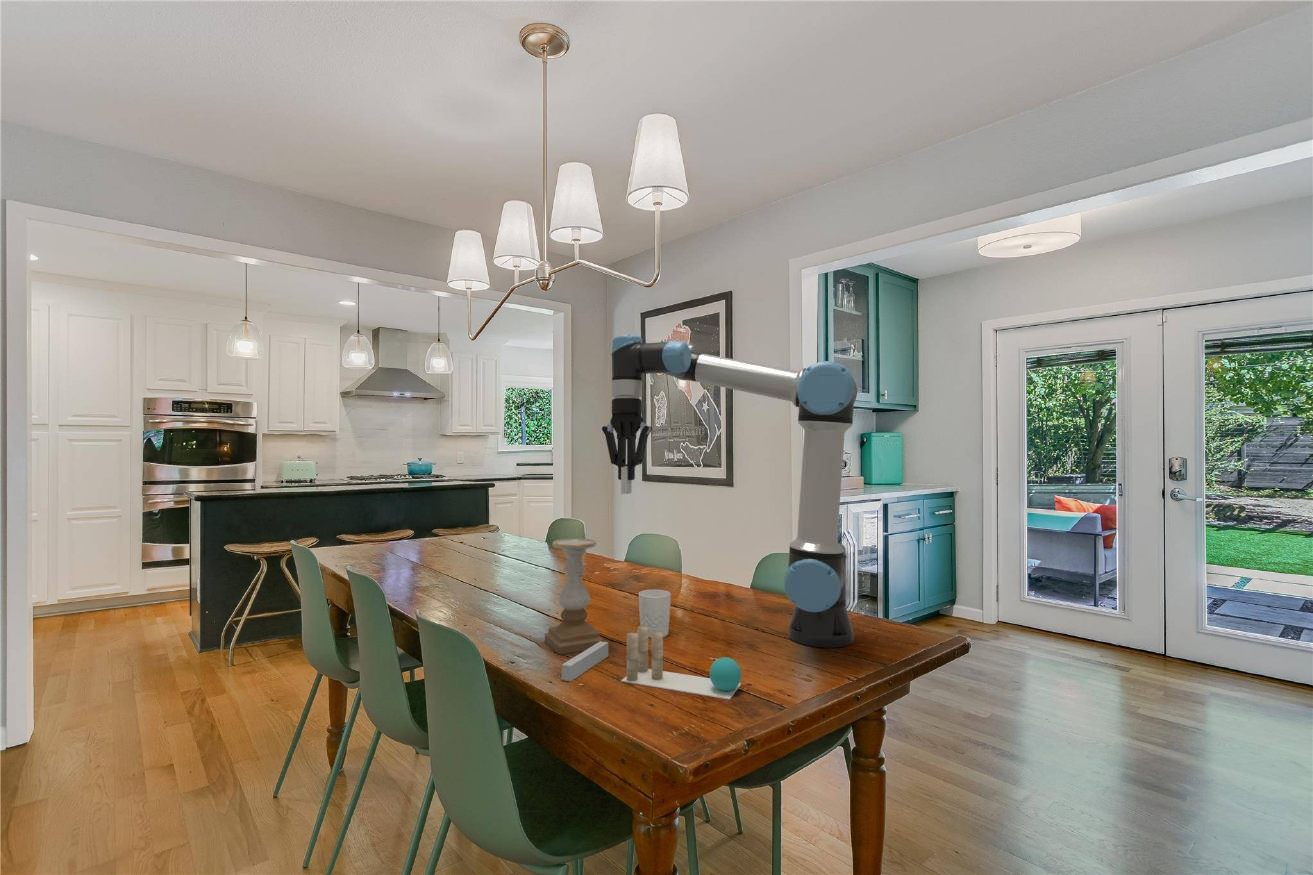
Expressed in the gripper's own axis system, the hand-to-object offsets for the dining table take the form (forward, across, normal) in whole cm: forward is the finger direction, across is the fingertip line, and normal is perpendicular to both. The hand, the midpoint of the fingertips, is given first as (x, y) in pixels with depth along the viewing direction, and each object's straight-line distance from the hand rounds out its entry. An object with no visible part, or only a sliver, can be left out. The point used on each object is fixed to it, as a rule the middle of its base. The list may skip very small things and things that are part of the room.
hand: (626, 493), depth 154 cm
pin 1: (+34, -15, +28) cm, 46 cm away
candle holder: (+35, +7, +13) cm, 38 cm away
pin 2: (+34, -15, +22) cm, 44 cm away
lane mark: (+34, -24, +25) cm, 49 cm away
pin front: (+34, -19, +25) cm, 47 cm away
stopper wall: (+34, -3, +25) cm, 43 cm away
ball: (+31, -33, +25) cm, 52 cm away
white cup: (+35, -7, -2) cm, 35 cm away
